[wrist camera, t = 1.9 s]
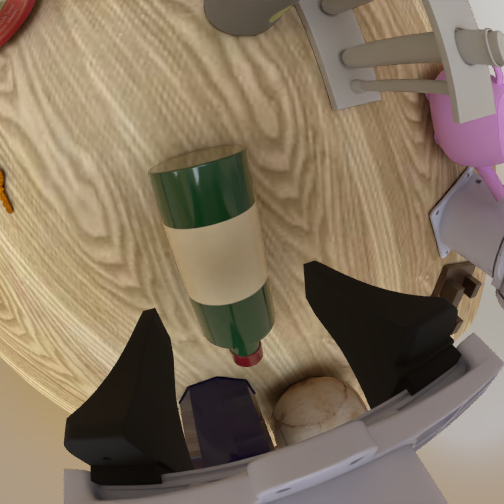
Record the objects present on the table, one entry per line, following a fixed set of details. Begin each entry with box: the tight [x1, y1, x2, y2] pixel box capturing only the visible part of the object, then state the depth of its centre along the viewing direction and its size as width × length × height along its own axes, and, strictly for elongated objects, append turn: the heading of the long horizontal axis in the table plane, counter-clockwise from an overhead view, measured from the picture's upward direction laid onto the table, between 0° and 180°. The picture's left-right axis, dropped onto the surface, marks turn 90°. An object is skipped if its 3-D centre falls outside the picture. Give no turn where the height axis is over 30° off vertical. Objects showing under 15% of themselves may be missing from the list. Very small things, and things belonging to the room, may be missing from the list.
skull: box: [269, 376, 368, 450], centre depth 29 cm, size 16×17×13 cm
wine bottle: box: [148, 145, 275, 367], centre depth 18 cm, size 16×6×6 cm, turn 10°
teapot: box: [425, 63, 504, 202], centre depth 16 cm, size 10×15×9 cm
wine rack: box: [431, 262, 481, 335], centre depth 33 cm, size 16×9×4 cm, turn 175°
